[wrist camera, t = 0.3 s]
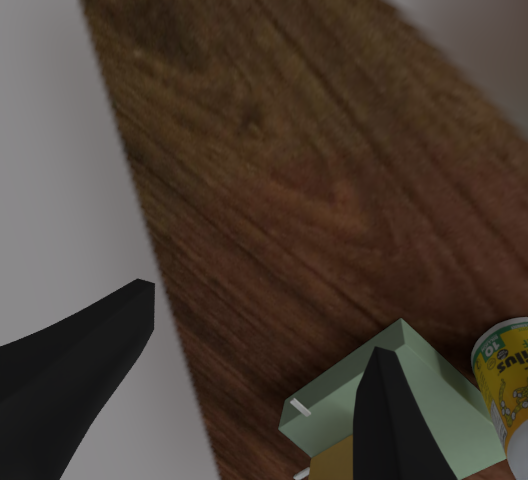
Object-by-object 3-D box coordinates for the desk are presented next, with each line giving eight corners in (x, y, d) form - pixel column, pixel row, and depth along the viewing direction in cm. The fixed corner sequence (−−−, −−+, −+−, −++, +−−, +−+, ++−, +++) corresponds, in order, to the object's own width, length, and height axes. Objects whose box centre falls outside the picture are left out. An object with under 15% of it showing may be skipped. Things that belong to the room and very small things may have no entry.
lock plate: (356, 492, 29) (355, 530, 27) (253, 404, 28) (242, 434, 26) (506, 416, 24) (523, 454, 22) (387, 304, 23) (390, 331, 21)
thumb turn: (325, 471, 25) (320, 532, 22) (310, 458, 25) (302, 517, 22) (386, 436, 23) (391, 498, 20) (371, 422, 23) (372, 482, 20)
